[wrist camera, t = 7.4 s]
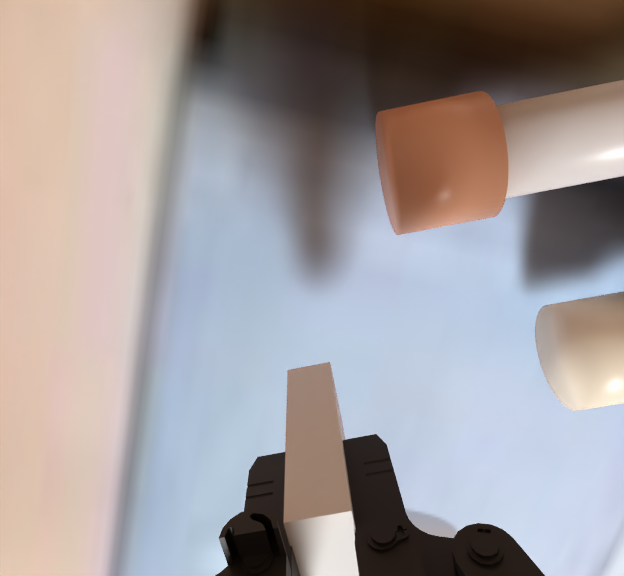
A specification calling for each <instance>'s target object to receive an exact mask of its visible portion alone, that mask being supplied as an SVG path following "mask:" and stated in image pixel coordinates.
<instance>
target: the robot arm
mask: <svg viewBox="0 0 624 576" xmlns="http://www.w3.org/2000/svg"><path fill="white" fill-rule="evenodd" d="M247 486H248V488H247V492H246V500H245V508H244V512H241V513H239V514H238V515H236V516H235V517H233V518H232V519H230V520H229V522H228V523H227V524H226V525H225V526H224V527H223V529H222V532H221V534H220V537H219V540H220V543H221V546H222V549H223V552H224V554H225V557H226V560H227V563H228V566H227V567H226V568H225V569H224V570H223V571H222V572H220V573H219V574H217V575H216V576H545V575H544V574H543V573H542V572H541V570H540V569H539V568H538V567H537V566H536V565H535V563H534V562H533V561H532V560H531V559H530V557H529V556H528V555H527V554H526V553H525V552H524V550H523V549H522V548H521V547H520V546H519V545H518V543H517V542H516V541H515V540H514V539H513V538H512V537H511V536H510V535H509V534H508V533H506V532H505V531H504V530H502V529H500V528H498V527H495V526H493V525H490V524H480V523H477V524H473V525H468V526H466V527H464V528H463V529H461V530H460V531H458V532H457V534H456V536H455V537H454V538H446V537H438V536H434V535H430V534H427V533H425V532H423V531H421V530H419V529H418V528H417V527H415V526H414V525H413V524H412V523H411V521H410V520H409V519H408V516H407V515H406V512H405V508H404V505H403V501H402V498H401V494H400V491H399V487H398V483H397V480H396V476H395V473H394V470H393V466H392V462H391V459H390V455H389V452H388V448H387V445H386V444H385V443H384V442H383V441H382V440H381V439H380V438H379V437H378V436H377V435H376V434H374V435H369V436H363V437H358V438H352V439H347V440H345V435H344V429H343V424H342V419H341V414H340V409H339V404H338V399H337V394H336V389H335V384H334V380H333V375H332V370H331V365H330V362H328V363H323V364H318V365H312V366H307V367H302V368H296V369H291V370H288V377H287V413H286V450H285V452H283V453H277V454H272V455H266V456H261V457H257V459H256V461H255V462H254V464H253V466H252V467H251V469H250V470H249V476H248V484H247Z"/></svg>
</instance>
